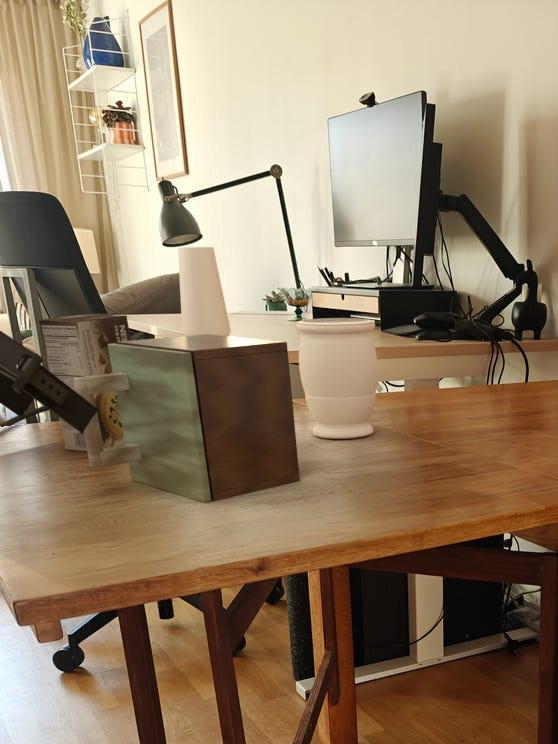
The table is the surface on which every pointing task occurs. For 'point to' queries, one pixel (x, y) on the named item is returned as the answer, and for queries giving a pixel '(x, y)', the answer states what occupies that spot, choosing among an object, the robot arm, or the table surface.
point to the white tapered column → (201, 293)
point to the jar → (338, 375)
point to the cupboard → (241, 410)
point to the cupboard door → (151, 419)
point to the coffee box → (86, 366)
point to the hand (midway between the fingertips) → (57, 413)
